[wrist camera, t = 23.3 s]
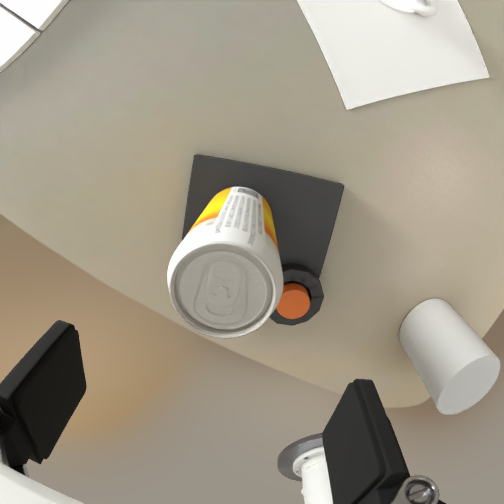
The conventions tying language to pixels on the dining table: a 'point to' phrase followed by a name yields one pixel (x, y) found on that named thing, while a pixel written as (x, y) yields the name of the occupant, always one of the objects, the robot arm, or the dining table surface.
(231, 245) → the beer can
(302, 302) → the power button
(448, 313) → the cup
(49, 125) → the dining table surface
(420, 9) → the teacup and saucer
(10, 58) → the lazy susan
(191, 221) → the scale
